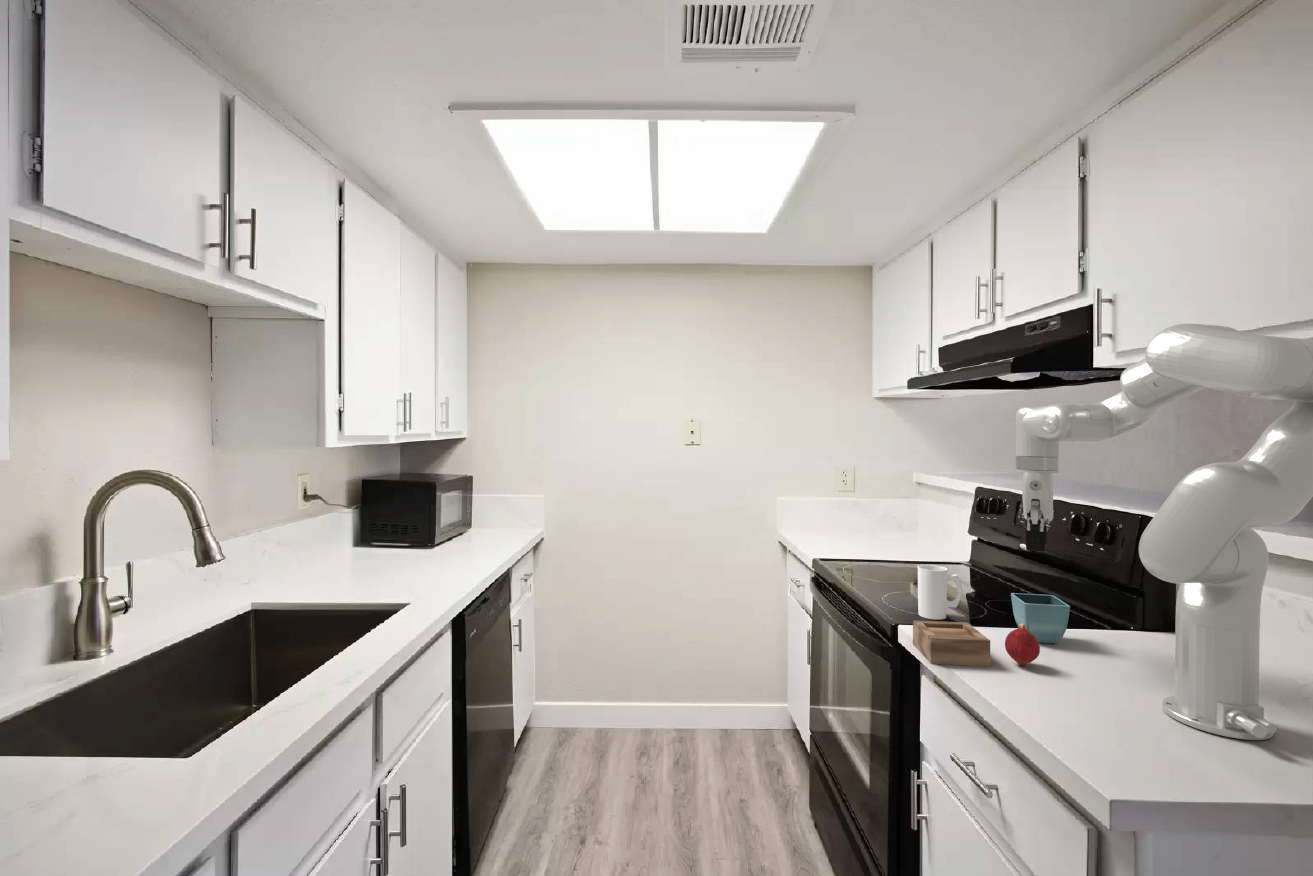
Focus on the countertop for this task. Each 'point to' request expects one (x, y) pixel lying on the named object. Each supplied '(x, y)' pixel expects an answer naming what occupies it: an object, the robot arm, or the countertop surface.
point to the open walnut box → (951, 643)
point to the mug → (935, 591)
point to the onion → (1022, 645)
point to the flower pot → (1041, 615)
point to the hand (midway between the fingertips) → (1036, 547)
